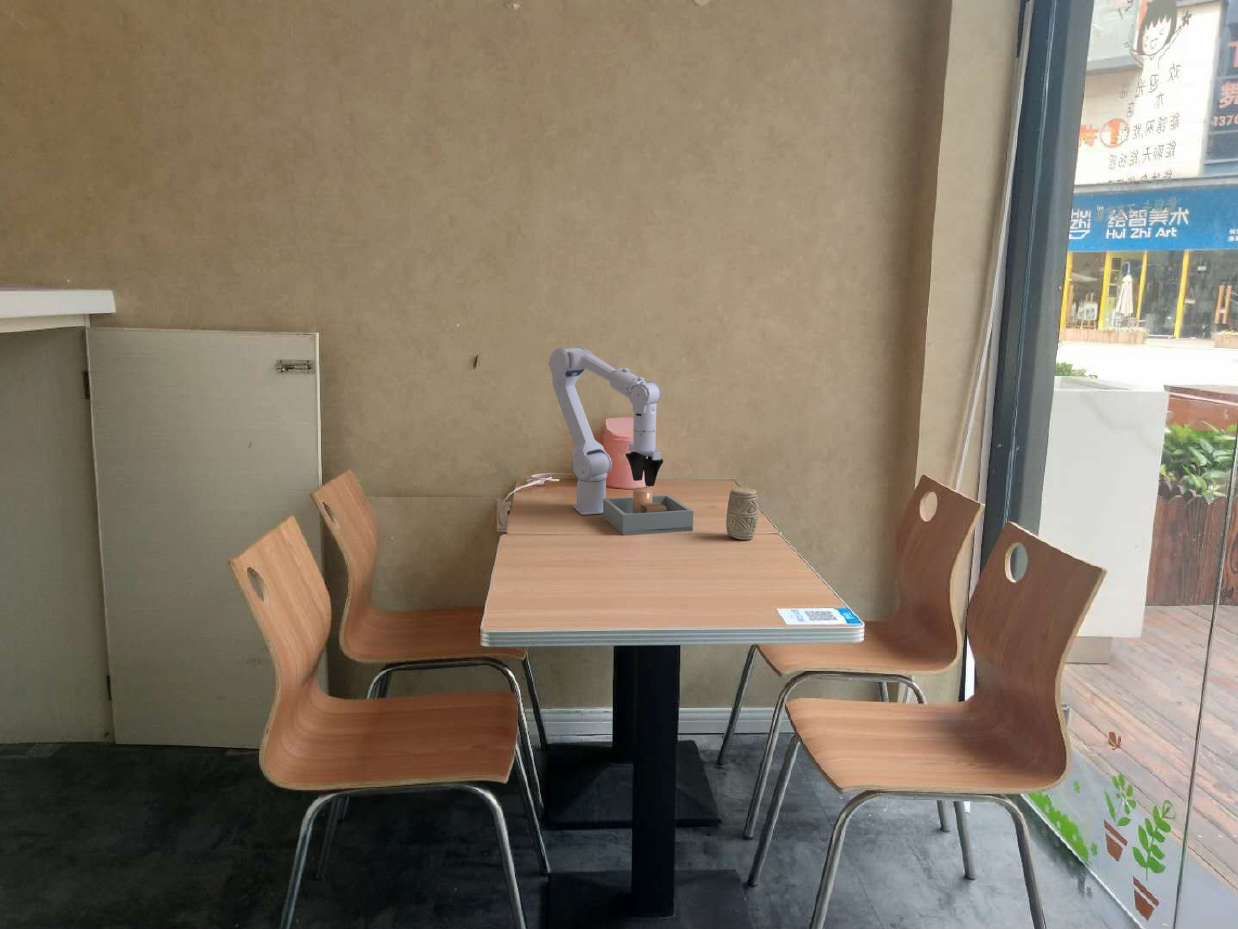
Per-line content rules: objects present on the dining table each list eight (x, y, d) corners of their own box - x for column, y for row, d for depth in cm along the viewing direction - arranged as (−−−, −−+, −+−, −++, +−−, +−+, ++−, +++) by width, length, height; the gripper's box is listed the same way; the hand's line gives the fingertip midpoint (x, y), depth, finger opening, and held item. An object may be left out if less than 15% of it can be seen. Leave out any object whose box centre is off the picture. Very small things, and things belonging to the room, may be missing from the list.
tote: (602, 517, 235) (603, 498, 234) (668, 513, 240) (668, 494, 239) (623, 535, 218) (623, 515, 217) (692, 530, 223) (693, 510, 222)
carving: (758, 541, 214) (760, 492, 212) (726, 541, 214) (728, 491, 212) (755, 534, 220) (757, 486, 218) (724, 534, 220) (726, 486, 218)
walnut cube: (640, 523, 226) (640, 503, 225) (659, 521, 227) (659, 502, 226) (646, 528, 221) (647, 508, 220) (665, 526, 222) (666, 507, 221)
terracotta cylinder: (629, 515, 233) (629, 489, 232) (647, 514, 235) (647, 487, 234) (637, 519, 228) (637, 492, 227) (655, 518, 230) (655, 491, 229)
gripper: (618, 427, 232) (617, 478, 235) (642, 435, 219) (641, 490, 222) (643, 425, 235) (642, 476, 238) (668, 434, 222) (667, 487, 225)
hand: (643, 483), depth 230 cm, fingers open, 7 cm apart
